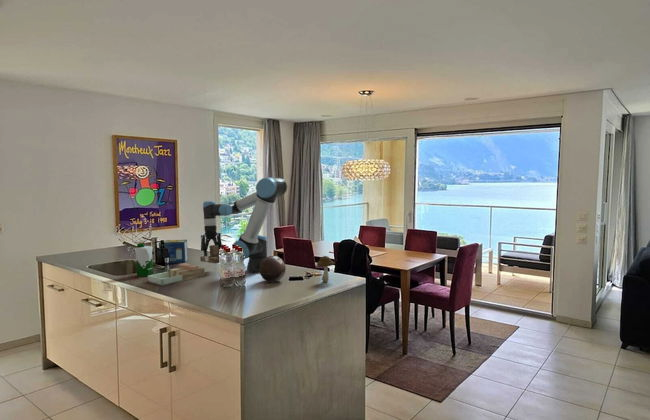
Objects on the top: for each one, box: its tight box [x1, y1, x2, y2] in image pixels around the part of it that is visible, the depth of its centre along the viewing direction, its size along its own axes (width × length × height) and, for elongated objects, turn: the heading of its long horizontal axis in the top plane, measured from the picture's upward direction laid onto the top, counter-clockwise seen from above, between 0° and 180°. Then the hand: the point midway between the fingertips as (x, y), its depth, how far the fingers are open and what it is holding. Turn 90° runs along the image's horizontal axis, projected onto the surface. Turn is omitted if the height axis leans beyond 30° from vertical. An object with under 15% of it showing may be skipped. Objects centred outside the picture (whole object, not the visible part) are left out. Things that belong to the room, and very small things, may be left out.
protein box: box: [163, 239, 189, 264], centre depth 305 cm, size 10×15×16 cm
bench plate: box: [168, 266, 206, 282], centre depth 257 cm, size 15×16×5 cm
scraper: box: [199, 244, 220, 264], centre depth 270 cm, size 16×7×10 cm, turn 50°
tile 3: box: [178, 262, 188, 268], centre depth 261 cm, size 4×4×2 cm
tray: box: [147, 271, 184, 287], centre depth 246 cm, size 16×13×4 cm
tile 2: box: [183, 263, 193, 269], centre depth 258 cm, size 4×4×2 cm
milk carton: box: [134, 243, 154, 278], centre depth 262 cm, size 9×9×20 cm
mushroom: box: [316, 255, 335, 283], centre depth 238 cm, size 9×11×15 cm
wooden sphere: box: [259, 255, 287, 283], centre depth 240 cm, size 15×15×15 cm
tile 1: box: [188, 264, 199, 270], centre depth 254 cm, size 4×4×2 cm
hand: (212, 260), depth 270 cm, fingers closed on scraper, 7 cm apart
